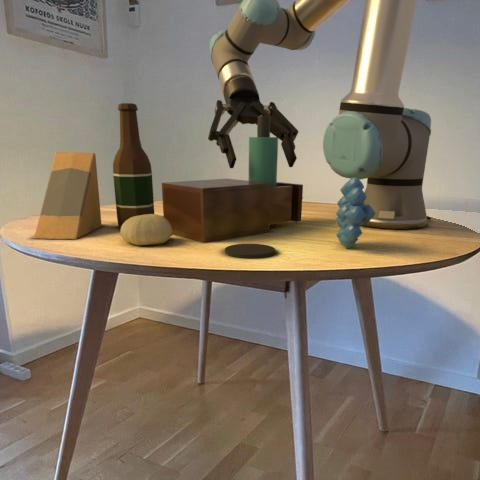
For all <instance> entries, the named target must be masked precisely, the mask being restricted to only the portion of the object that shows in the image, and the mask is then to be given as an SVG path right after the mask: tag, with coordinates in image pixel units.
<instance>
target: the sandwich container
mask: <svg viewBox="0 0 480 480" xmlns="http://www.w3.org/2000/svg"><path fill="white" fill-rule="evenodd" d="M96 157H97V155H96V153H95V152H84V151H83V152H82V151H79V152H78V151H55V153H54V156H53V161H52V166H51V170H50V175H49V178H48V182H47V187H46V190H45V195H44V198H43V203H42V207H41V210H40V214H39V217H38V221H37V225H36V228H35V233H34V236H33V239H40V240H41V239H47V240H48V239H49V240H77V239H79V238H81V237H83V236H85V235H87V234H89V233H91V232H93V231H94V230H96V229H98V228H100V227H101V226H102V214H101V203H100V202H101V201H100V191H99V180H98V170H97V169H98V168H97V167H98V166H97V159H96Z"/></svg>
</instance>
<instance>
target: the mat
mask: <svg viewBox="0 0 480 480" xmlns="http://www.w3.org/2000/svg"><path fill="white" fill-rule="evenodd" d="M224 253H225V254H226V255H227V256H230V257H234V258H238V259H239V258H240V259H263V258H268V257H271V256H274V255H275V254H276V248H275V247H274V246H272V245H268V244H262V243H237V244H231V245H228V246H226V247H225V248H224Z"/></svg>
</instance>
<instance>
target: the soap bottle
mask: <svg viewBox="0 0 480 480" xmlns="http://www.w3.org/2000/svg"><path fill="white" fill-rule="evenodd" d="M256 126H257V127H256V130H257V131H256V136H250V137H249V136H248V181H255V182H265V183H270V187H277V182H278V155H279V152H278V151H279V138H278V137H276V136H272V137H271V133H270V116H262V115H261V116H258V120H257V125H256Z"/></svg>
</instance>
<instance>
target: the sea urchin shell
mask: <svg viewBox="0 0 480 480" xmlns="http://www.w3.org/2000/svg"><path fill="white" fill-rule="evenodd" d="M119 231H120V237H121V238H122V240H123V241H125V242H126V243H128V244H131V245H135V246H155V245H161V244H165V243H167V242H168V241H169V240H170V239H171V237H172V235H173V234H172V227H171V224H170V223H169V222H168V220H166V219H165V218H164V216H163V215H160V214H155V213H154V214H146V215H138V216H134V217H131V218H129V219H128V220H126V221H125V222H124V223H123V225H122V226H121V228H120V230H119Z"/></svg>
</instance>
